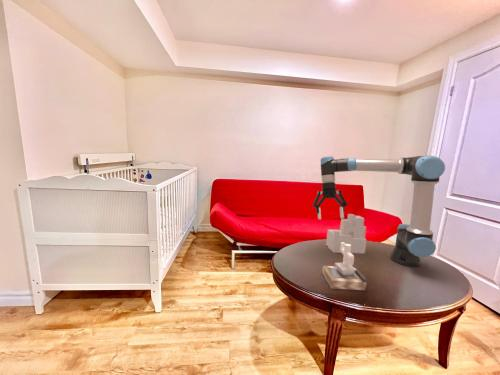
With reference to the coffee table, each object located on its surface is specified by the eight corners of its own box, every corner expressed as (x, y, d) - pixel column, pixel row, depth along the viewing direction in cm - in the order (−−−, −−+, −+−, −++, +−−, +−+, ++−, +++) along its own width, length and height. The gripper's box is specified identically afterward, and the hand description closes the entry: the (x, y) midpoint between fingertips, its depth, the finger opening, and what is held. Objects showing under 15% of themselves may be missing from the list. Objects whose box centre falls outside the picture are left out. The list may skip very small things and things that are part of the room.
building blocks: (333, 252, 142) (337, 215, 139) (326, 245, 154) (329, 211, 150) (364, 253, 143) (369, 216, 140) (355, 246, 155) (359, 212, 151)
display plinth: (352, 274, 116) (353, 264, 115) (365, 290, 102) (366, 279, 101) (322, 272, 116) (323, 263, 115) (331, 288, 102) (332, 277, 101)
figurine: (343, 278, 103) (347, 248, 101) (332, 268, 113) (335, 240, 110) (357, 277, 105) (360, 248, 102) (345, 267, 114) (348, 240, 112)
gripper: (345, 182, 133) (348, 217, 132) (305, 183, 132) (307, 219, 130) (352, 181, 126) (354, 218, 124) (310, 182, 125) (312, 219, 123)
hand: (330, 218), depth 127 cm, fingers open, 13 cm apart
